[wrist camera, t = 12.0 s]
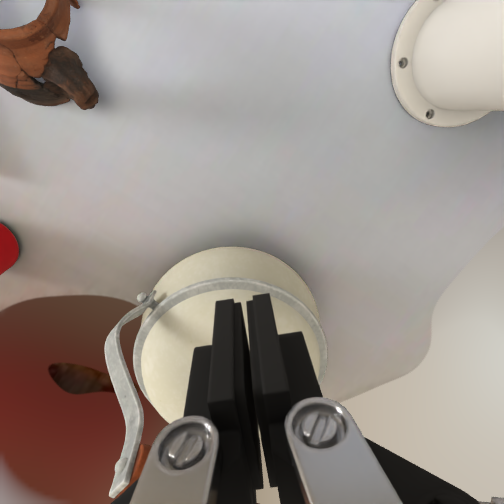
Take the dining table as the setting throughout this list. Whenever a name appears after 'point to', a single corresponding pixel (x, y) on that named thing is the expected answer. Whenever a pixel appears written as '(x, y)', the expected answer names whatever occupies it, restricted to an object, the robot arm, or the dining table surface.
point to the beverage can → (7, 249)
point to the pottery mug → (45, 61)
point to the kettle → (198, 334)
